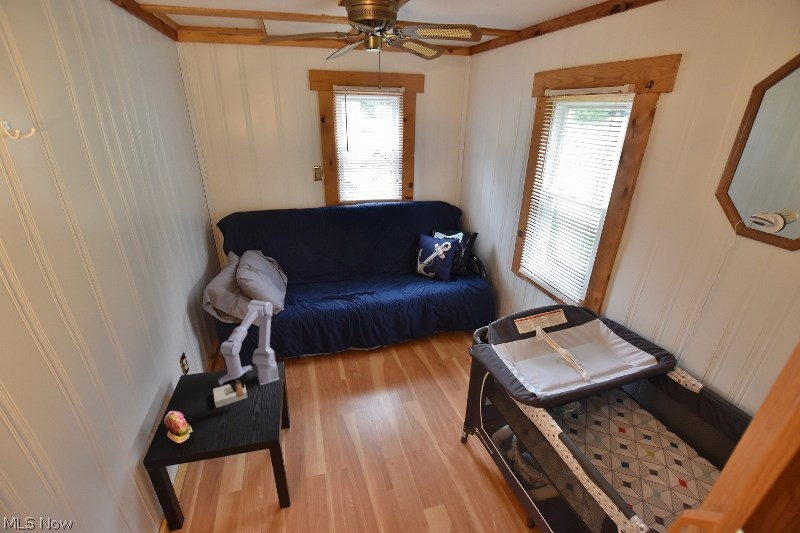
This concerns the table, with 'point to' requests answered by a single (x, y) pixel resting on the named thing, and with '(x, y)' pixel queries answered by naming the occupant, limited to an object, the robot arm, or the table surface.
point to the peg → (238, 387)
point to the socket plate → (226, 399)
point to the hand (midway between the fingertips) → (238, 388)
